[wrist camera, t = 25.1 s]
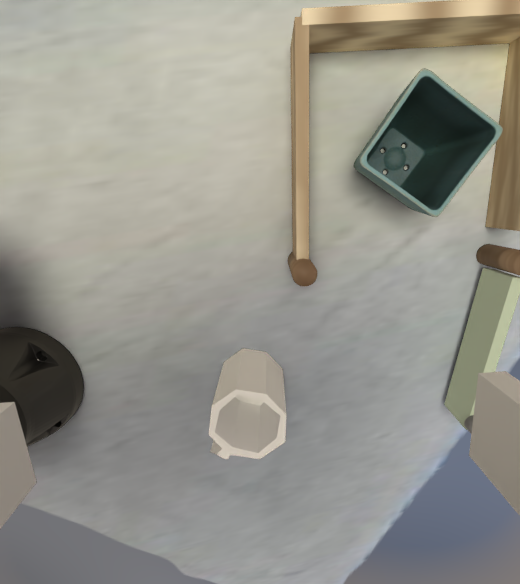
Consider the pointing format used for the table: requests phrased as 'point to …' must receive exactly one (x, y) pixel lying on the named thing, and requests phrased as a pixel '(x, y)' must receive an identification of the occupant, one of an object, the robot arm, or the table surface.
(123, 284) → the table surface
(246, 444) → the mug
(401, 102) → the flower pot
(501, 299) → the gate
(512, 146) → the wooden u-shaped enclosure
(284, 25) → the table surface
